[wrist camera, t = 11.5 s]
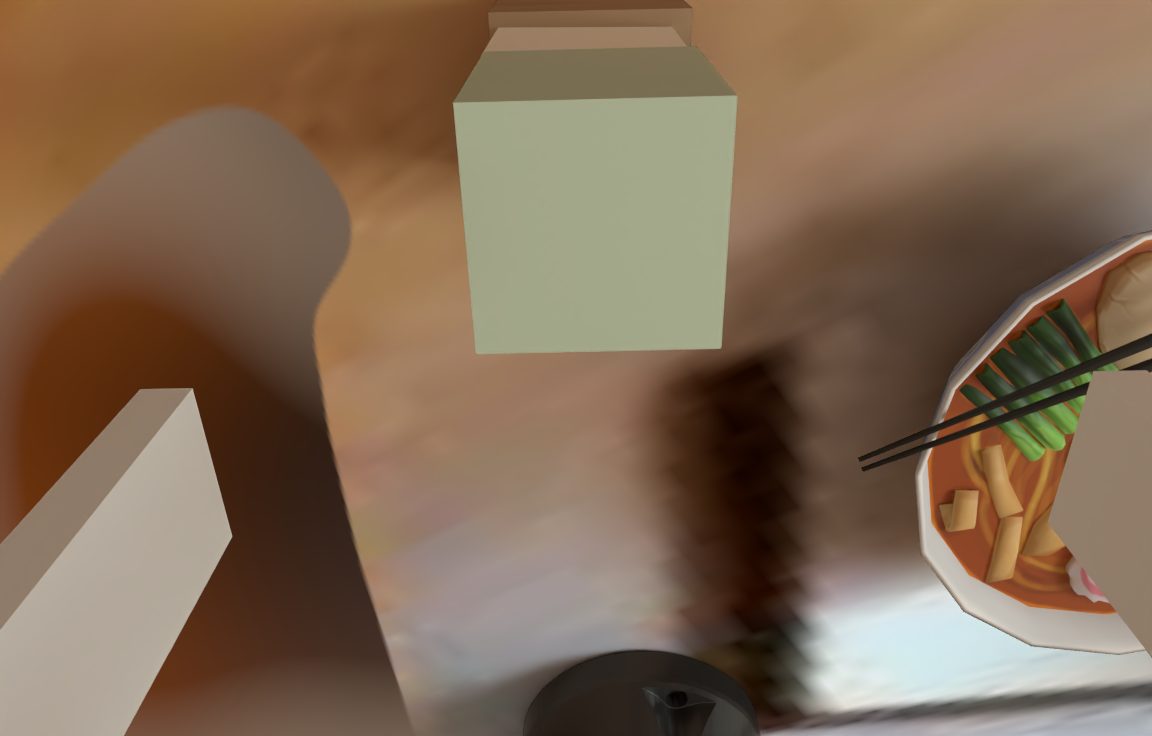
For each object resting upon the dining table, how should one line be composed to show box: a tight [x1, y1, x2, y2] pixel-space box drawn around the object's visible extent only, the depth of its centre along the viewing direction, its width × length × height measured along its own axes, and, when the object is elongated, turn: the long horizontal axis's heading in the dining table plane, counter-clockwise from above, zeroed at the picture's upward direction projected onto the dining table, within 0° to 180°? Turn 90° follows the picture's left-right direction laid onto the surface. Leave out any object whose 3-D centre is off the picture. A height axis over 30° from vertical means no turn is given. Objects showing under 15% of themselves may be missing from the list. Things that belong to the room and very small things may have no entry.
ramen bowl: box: [858, 230, 1152, 655], centre depth 39 cm, size 25×23×8 cm
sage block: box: [453, 46, 737, 354], centre depth 23 cm, size 6×6×7 cm
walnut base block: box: [488, 0, 692, 46], centre depth 34 cm, size 7×7×6 cm
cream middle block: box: [481, 27, 686, 56], centre depth 28 cm, size 6×6×6 cm
